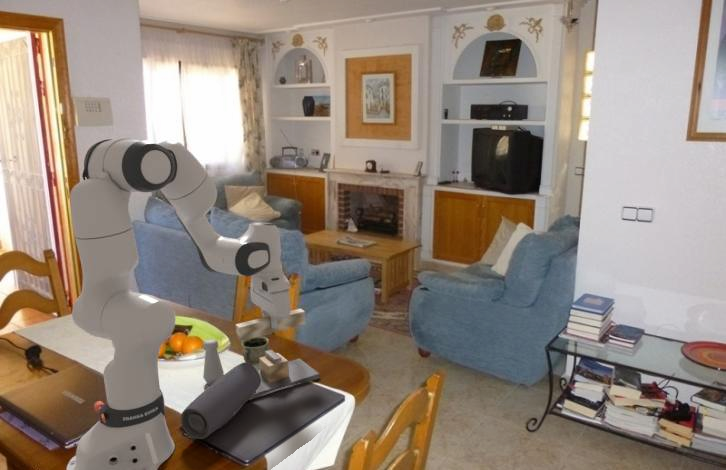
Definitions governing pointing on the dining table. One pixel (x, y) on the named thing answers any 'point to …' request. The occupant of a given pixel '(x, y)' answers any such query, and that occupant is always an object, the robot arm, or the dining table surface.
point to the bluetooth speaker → (220, 401)
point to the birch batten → (263, 325)
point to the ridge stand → (283, 372)
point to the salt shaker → (212, 362)
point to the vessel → (254, 349)
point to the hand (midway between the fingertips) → (270, 324)
